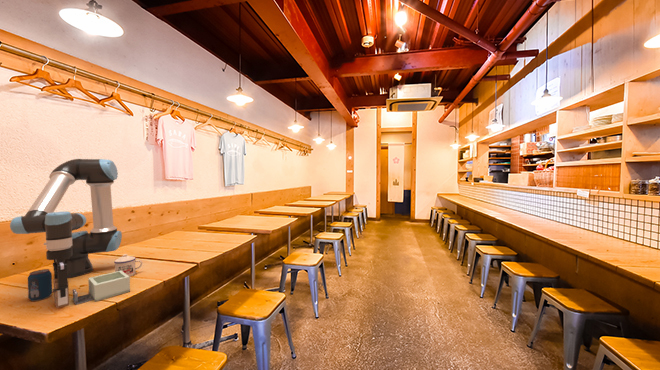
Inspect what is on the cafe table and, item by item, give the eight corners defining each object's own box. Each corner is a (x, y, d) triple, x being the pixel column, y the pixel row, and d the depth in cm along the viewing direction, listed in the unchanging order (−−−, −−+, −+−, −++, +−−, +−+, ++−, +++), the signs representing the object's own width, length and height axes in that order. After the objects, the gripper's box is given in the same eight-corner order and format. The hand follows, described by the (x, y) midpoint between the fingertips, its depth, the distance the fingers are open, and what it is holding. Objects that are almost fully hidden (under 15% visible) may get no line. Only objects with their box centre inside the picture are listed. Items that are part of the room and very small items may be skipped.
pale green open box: (88, 293, 115) (88, 278, 115) (121, 284, 125) (121, 270, 125) (95, 301, 107) (94, 285, 107) (130, 291, 116) (129, 276, 116)
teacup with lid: (114, 280, 130) (113, 258, 130) (114, 275, 137) (114, 254, 137) (143, 274, 138) (142, 253, 138) (142, 270, 145) (141, 250, 145)
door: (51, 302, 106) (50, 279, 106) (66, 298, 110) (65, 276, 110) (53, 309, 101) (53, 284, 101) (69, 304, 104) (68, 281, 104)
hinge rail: (72, 299, 109) (71, 288, 109) (90, 294, 113) (89, 284, 113) (75, 305, 104) (74, 293, 104) (93, 299, 109) (93, 288, 108)
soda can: (51, 293, 116) (51, 267, 116) (52, 297, 111) (51, 270, 111) (28, 298, 110) (27, 271, 110) (28, 303, 106) (27, 275, 106)
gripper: (43, 246, 109) (45, 297, 109) (48, 255, 96) (50, 312, 96) (68, 242, 115) (70, 291, 115) (76, 250, 102) (78, 305, 102)
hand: (61, 301), depth 106 cm, fingers closed on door, 9 cm apart
